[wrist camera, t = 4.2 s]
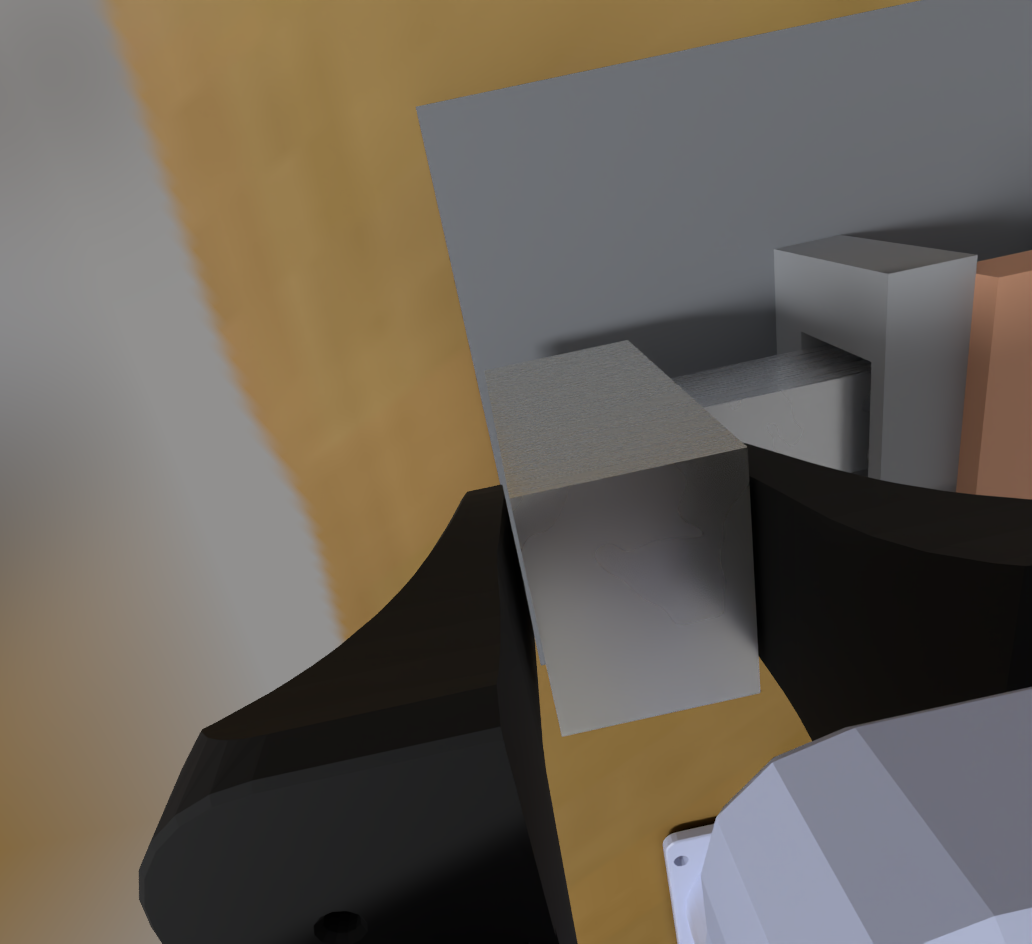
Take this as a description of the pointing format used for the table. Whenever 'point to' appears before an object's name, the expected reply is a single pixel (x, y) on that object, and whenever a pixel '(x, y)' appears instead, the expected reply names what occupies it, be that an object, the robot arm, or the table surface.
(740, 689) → the shaft
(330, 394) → the table surface
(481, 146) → the bracket
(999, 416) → the spacer
